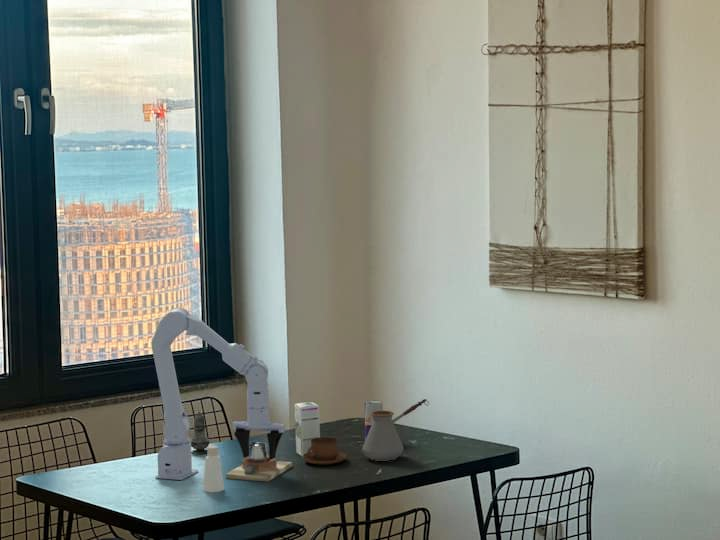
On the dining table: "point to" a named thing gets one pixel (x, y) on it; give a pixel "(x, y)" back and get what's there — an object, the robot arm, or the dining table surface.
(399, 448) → the coffee pot
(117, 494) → the dining table surface
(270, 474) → the coupling stand
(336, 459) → the cup and saucer
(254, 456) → the cylinder
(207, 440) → the grey flanged cylinder
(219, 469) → the white squeeze bottle
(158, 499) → the dining table surface
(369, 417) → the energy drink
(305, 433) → the syrup box
